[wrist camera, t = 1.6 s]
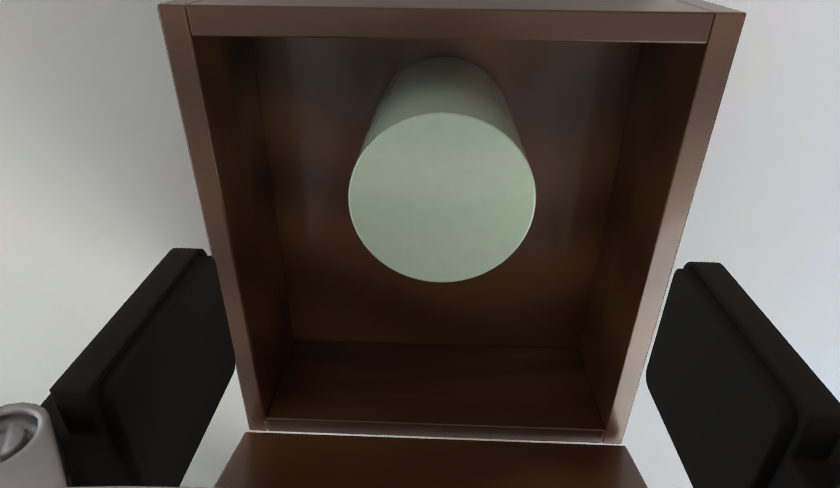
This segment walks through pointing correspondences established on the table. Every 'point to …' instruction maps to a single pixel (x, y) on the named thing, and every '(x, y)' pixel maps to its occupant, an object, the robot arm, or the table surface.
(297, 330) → the wooden box
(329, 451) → the lid
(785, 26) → the table surface
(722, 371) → the robot arm
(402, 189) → the jar
